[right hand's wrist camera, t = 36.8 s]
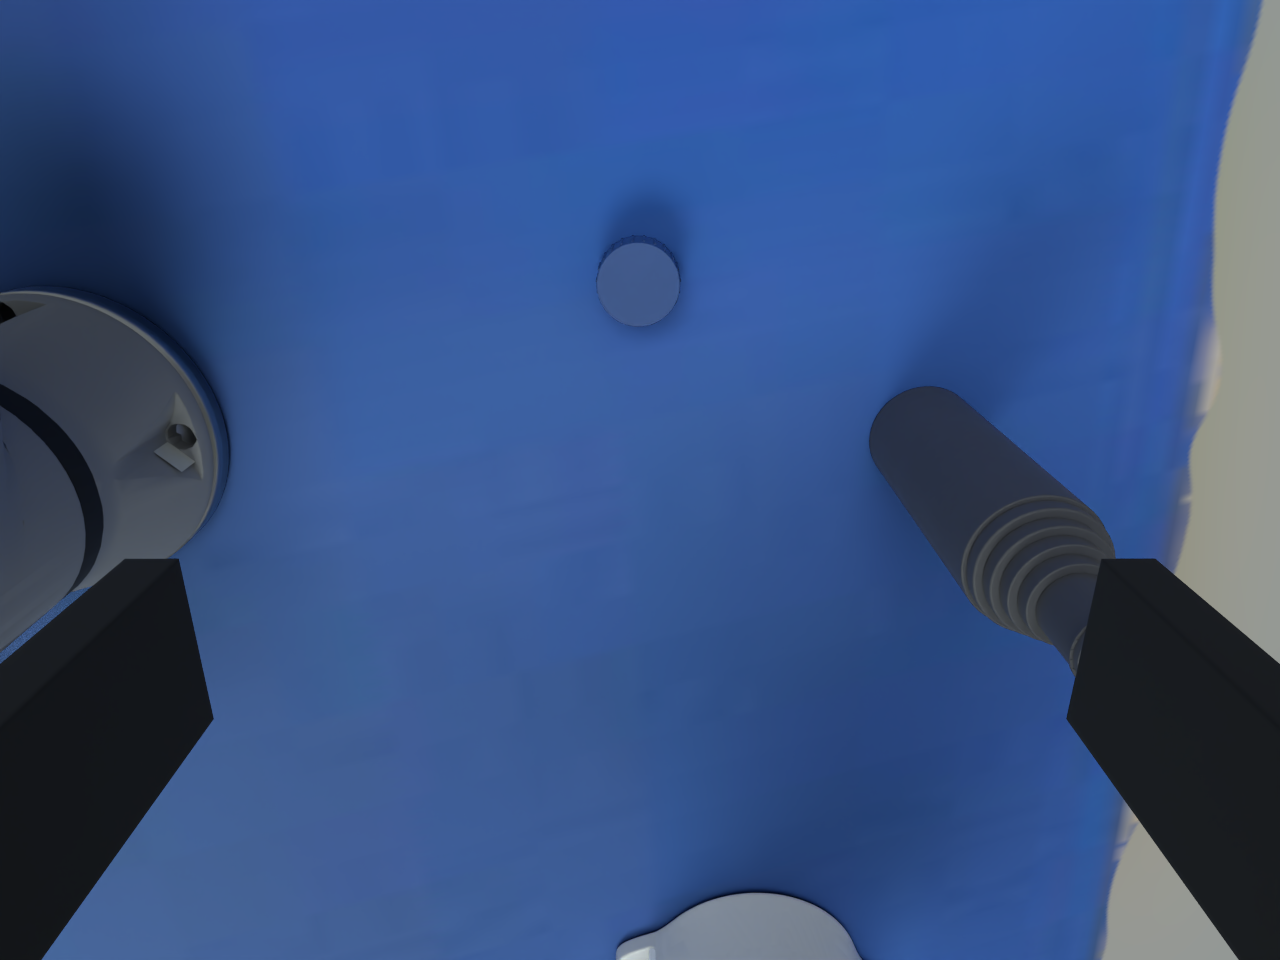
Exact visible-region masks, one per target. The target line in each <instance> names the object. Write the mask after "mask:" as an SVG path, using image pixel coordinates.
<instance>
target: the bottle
mask: <svg viewBox="0 0 1280 960" xmlns="http://www.w3.org/2000/svg"><path fill="white" fill-rule="evenodd" d="M869 443H870V452H871V455H872V458H873V460H874V462H875V464H876V466H877V467H878V469H879V470H880V472H881V473H882V475H883V476H884V477H885V479H886V480H887V482H888V483H889V485H890V486H891V488H892V489H893V491H894V492H895V493H896V495H897V496H898V498H899V499H900V501H901V502H902V504H903V505H904V506H905V508H906V509H907V511H908V512H909V514H910V515H911V517H912V518H913V520H914V521H915V522H916V524H917V525H918V527H919V528H920V530H921V531H922V533H923V534H924V535H925V537H926V538H927V540H928V541H929V543H930V544H931V546H932V547H933V549H934V550H935V551H936V553H937V554H938V556H939V557H940V559H941V560H942V562H943V563H944V564H945V566H946V567H947V569H948V570H949V572H950V573H951V575H952V576H953V578H954V579H955V580H956V582H957V583H958V585H959V586H960V588H961V589H962V591H963V592H964V593H965V595H966V596H967V598H968V599H969V601H970V602H971V603H972V605H973V606H974V607H975V608H976V609H977V610H978V611H979V612H981V613H982V614H984V615H985V616H987V617H988V618H989V619H990V620H992V621H993V622H994V623H996V624H998V625H1000V626H1002V627H1004V628H1006V629H1009V630H1012V631H1015V632H1018V633H1020V634H1023V635H1027V636H1029V637H1031V638H1034V639H1037V640H1041V641H1043V642H1045V643H1048V644H1051V645H1054V646H1055V647H1056V648H1057V650H1058V651H1059V652H1060V653H1061V655H1062V656H1063V657H1064V658H1065V660H1066V661H1067V662H1068V664H1069V666H1070V669H1071V671H1072V672H1073V674H1074V676H1075V677H1076V673H1077V668H1078V663H1079V659H1080V654H1081V650H1082V645H1083V640H1084V636H1085V631H1086V627H1087V622H1088V618H1089V613H1090V608H1091V604H1092V599H1093V595H1094V590H1095V586H1096V581H1097V576H1098V572H1099V567H1100V563H1101V559H1115V550H1114V546H1113V543H1112V540H1111V538H1110V536H1109V534H1108V533H1107V531H1106V530H1105V527H1104V525H1103V523H1102V522H1101V520H1100V519H1099V517H1098V516H1097V515H1096V514H1095V513H1094V512H1093V511H1092V510H1091V509H1090V508H1089V507H1087V506H1086V505H1085V504H1084V503H1083V502H1082V501H1080V500H1079V499H1078V498H1077V497H1076V496H1075V495H1073V494H1072V493H1071V492H1070V491H1069V490H1068V489H1066V488H1065V487H1064V486H1063V485H1062V484H1061V483H1059V482H1058V481H1057V480H1056V479H1055V478H1054V477H1052V476H1051V475H1050V474H1049V473H1048V472H1047V471H1045V470H1044V469H1043V468H1042V467H1041V466H1040V465H1038V464H1037V463H1036V462H1035V461H1034V460H1033V459H1031V458H1030V457H1029V456H1028V455H1027V454H1026V453H1024V452H1023V451H1022V450H1021V449H1020V448H1019V447H1017V446H1016V445H1015V444H1014V443H1013V442H1012V441H1010V440H1009V439H1008V438H1007V437H1006V436H1005V435H1003V434H1002V433H1001V432H1000V431H999V430H998V429H996V428H995V427H994V426H993V425H992V424H991V423H989V422H988V421H987V420H986V419H985V418H984V417H982V416H981V415H980V414H979V413H978V412H977V411H975V410H974V409H973V408H972V407H971V406H970V405H968V404H967V403H966V402H965V401H964V400H963V399H961V398H960V397H959V396H958V395H956V394H955V393H953V392H951V391H949V390H946V389H943V388H939V387H918V388H914V389H910V390H908V391H905V392H903V393H901V394H899V395H897V396H896V397H894V398H893V399H891V400H890V401H889V402H888V403H887V404H886V405H885V406H884V407H883V408H882V409H881V411H880V412H879V413H878V415H877V417H876V419H875V420H874V423H873V425H872V428H871V432H870V440H869Z"/></svg>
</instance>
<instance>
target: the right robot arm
mask: <svg viewBox="0 0 1280 960" xmlns="http://www.w3.org/2000/svg"><path fill="white" fill-rule="evenodd" d="M228 466H229V446H228V438H227V432H226V428H225V424H224V419H223V416H222V414H221V411H220V408H219V405H218V403H217V401H216V398H215V396H214V394H213V392H212V390H211V388H210V386H209V385H208V383H207V381H206V379H205V378H204V376H203V375H202V373H201V372H200V370H199V369H198V367H197V366H196V365H195V363H194V362H193V361H192V360H191V359H190V357H189V356H188V355H187V354H186V353H185V351H184V350H183V349H182V348H181V347H180V346H179V345H178V344H177V343H176V342H175V341H174V340H173V339H172V338H170V337H169V336H168V335H167V334H166V333H165V332H164V331H162V330H161V329H160V328H159V327H157V326H156V325H155V324H153V323H152V322H151V321H149V320H148V319H146V318H144V317H143V316H141V315H140V314H138V313H137V312H135V311H133V310H131V309H129V308H127V307H125V306H124V305H122V304H119V303H117V302H115V301H112V300H110V299H108V298H105V297H102V296H99V295H96V294H93V293H90V292H86V291H82V290H77V289H72V288H65V287H56V286H32V287H23V288H17V289H12V290H8V291H5V292H1V293H0V652H1V651H3V650H4V649H5V648H6V647H7V646H8V645H10V644H11V643H12V642H13V641H14V640H15V639H17V638H18V637H19V636H20V635H21V634H22V633H24V632H25V631H26V630H27V629H28V628H29V627H31V626H32V625H33V624H34V623H35V622H36V621H38V620H39V619H40V618H41V617H42V616H43V615H45V614H46V613H47V612H48V611H49V610H50V609H52V608H53V607H54V606H55V605H56V604H57V603H58V602H59V601H60V600H62V599H63V598H64V597H65V596H67V595H68V594H69V593H70V592H73V591H76V590H80V589H83V588H86V587H90V586H92V587H91V588H90V589H88V590H87V591H86V592H85V593H84V594H83V595H81V596H80V597H79V598H78V599H77V600H75V601H74V602H73V603H72V604H71V605H70V606H68V607H67V608H66V609H65V610H64V611H62V612H61V613H60V614H59V615H58V616H57V617H55V618H54V619H53V620H52V621H51V622H49V623H48V624H47V625H46V626H45V627H44V628H42V629H41V630H40V631H39V632H38V633H36V634H35V635H34V636H33V637H32V638H31V639H29V640H28V641H27V642H26V643H25V644H23V645H22V646H21V647H20V648H19V649H18V650H16V651H15V652H14V653H13V654H12V655H10V656H9V657H8V658H7V659H6V660H5V661H3V662H2V663H1V664H0V960H41V959H42V958H43V957H44V955H45V954H46V952H47V951H48V950H49V948H50V947H51V945H52V944H53V943H54V941H55V940H56V938H57V937H58V936H59V934H60V933H61V931H62V930H63V929H64V927H65V926H66V925H67V923H68V922H69V920H70V919H71V918H72V916H73V915H74V913H75V912H76V911H77V909H78V908H79V906H80V905H81V904H82V902H83V901H84V899H85V898H86V897H87V895H88V894H89V892H90V891H91V890H92V888H93V887H94V885H95V884H96V883H97V881H98V880H99V878H100V877H101V876H102V874H103V873H104V871H105V870H106V869H107V867H108V866H109V864H110V863H111V862H112V860H113V859H114V857H115V856H116V855H117V853H118V852H119V850H120V849H121V848H122V846H123V845H124V843H125V842H126V841H127V839H128V838H129V836H130V835H131V834H132V832H133V831H134V829H135V828H136V827H137V825H138V824H139V822H140V821H141V820H142V818H143V817H144V815H145V814H146V813H147V811H148V810H149V808H150V807H151V806H152V804H153V803H154V802H155V800H156V799H157V797H158V796H159V795H160V793H161V792H162V790H163V789H164V788H165V786H166V785H167V783H168V782H169V781H170V779H171V778H172V776H173V775H174V774H175V772H176V771H177V769H178V768H179V767H180V765H181V764H182V762H183V761H184V760H185V758H186V757H187V755H188V754H189V753H190V751H191V750H192V748H193V747H194V746H195V744H196V743H197V741H198V740H199V739H200V737H201V736H202V734H203V733H204V732H205V730H206V729H207V727H208V726H209V725H210V723H211V722H212V720H213V719H214V718H213V714H212V709H211V705H210V700H209V695H208V691H207V686H206V682H205V677H204V673H203V668H202V663H201V659H200V654H199V650H198V645H197V640H196V636H195V631H194V627H193V622H192V618H191V613H190V608H189V604H188V599H187V595H186V590H185V586H184V581H183V576H182V572H181V567H180V563H179V559H167V558H168V557H170V556H172V555H173V554H174V553H175V552H177V551H178V550H179V549H180V548H182V547H183V546H184V545H185V544H186V543H187V542H188V541H189V540H190V539H191V538H192V537H193V536H195V535H196V534H197V533H198V532H199V531H200V530H201V529H202V528H203V527H204V525H205V524H206V523H207V522H208V520H209V519H210V518H211V516H212V515H213V513H214V511H215V510H216V508H217V506H218V504H219V502H220V499H221V497H222V494H223V491H224V488H225V485H226V480H227V475H228ZM1066 719H1067V720H1068V722H1069V723H1070V725H1071V726H1072V727H1073V729H1074V730H1075V732H1076V733H1077V734H1078V736H1079V737H1080V739H1081V740H1082V741H1083V743H1084V744H1085V746H1086V747H1087V748H1088V750H1089V751H1090V753H1091V754H1092V755H1093V757H1094V758H1095V760H1096V761H1097V762H1098V764H1099V765H1100V767H1101V768H1102V769H1103V771H1104V772H1105V774H1106V775H1107V776H1108V778H1109V779H1110V781H1111V782H1112V783H1113V785H1114V786H1115V788H1116V789H1117V790H1118V792H1119V793H1120V795H1121V796H1122V797H1123V799H1124V800H1125V802H1126V803H1127V804H1128V806H1129V807H1130V808H1131V810H1132V811H1133V813H1134V814H1135V815H1136V817H1137V818H1138V820H1139V821H1140V822H1141V824H1142V825H1143V827H1144V828H1145V829H1146V831H1147V832H1148V834H1149V835H1150V836H1151V838H1152V839H1153V841H1154V842H1155V843H1156V845H1157V846H1158V848H1159V849H1160V850H1161V852H1162V853H1163V855H1164V856H1165V857H1166V859H1167V860H1168V862H1169V863H1170V864H1171V866H1172V867H1173V869H1174V870H1175V871H1176V873H1177V874H1178V876H1179V877H1180V878H1181V880H1182V881H1183V883H1184V884H1185V885H1186V887H1187V888H1188V890H1189V891H1190V892H1191V894H1192V895H1193V897H1194V898H1195V899H1196V901H1197V902H1198V904H1199V905H1200V906H1201V908H1202V909H1203V911H1204V912H1205V913H1206V915H1207V916H1208V918H1209V919H1210V920H1211V922H1212V923H1213V925H1214V926H1215V927H1216V929H1217V930H1218V931H1219V933H1220V934H1221V936H1222V937H1223V938H1224V940H1225V941H1226V943H1227V944H1228V945H1229V947H1230V948H1231V950H1232V951H1233V952H1234V954H1235V955H1236V956H1237V958H1238V959H1239V960H1280V664H1279V663H1278V662H1277V661H1275V660H1274V659H1273V658H1272V657H1271V656H1270V655H1268V654H1267V653H1266V652H1265V651H1264V650H1262V649H1261V648H1260V647H1259V646H1258V645H1257V644H1255V643H1254V642H1253V641H1252V640H1251V639H1249V638H1248V637H1247V636H1246V635H1245V634H1244V633H1242V632H1241V631H1240V630H1239V629H1238V628H1236V627H1235V626H1234V625H1233V624H1232V623H1231V622H1229V621H1228V620H1227V619H1226V618H1225V617H1223V616H1222V615H1221V614H1220V613H1219V612H1218V611H1216V610H1215V609H1214V608H1213V607H1212V606H1210V605H1209V604H1208V603H1207V602H1206V601H1205V600H1203V599H1202V598H1201V597H1200V596H1199V595H1197V594H1196V593H1195V592H1194V591H1193V590H1192V589H1190V588H1189V587H1188V586H1187V585H1186V584H1184V583H1183V582H1182V581H1181V580H1180V579H1179V578H1177V577H1176V576H1175V575H1174V574H1173V573H1171V572H1170V571H1169V570H1168V569H1167V568H1166V567H1164V566H1163V565H1162V564H1161V563H1160V562H1158V561H1157V560H1156V559H1101V563H1100V567H1099V572H1098V576H1097V581H1096V586H1095V590H1094V595H1093V599H1092V604H1091V608H1090V613H1089V618H1088V622H1087V627H1086V631H1085V636H1084V640H1083V645H1082V650H1081V654H1080V659H1079V663H1078V668H1077V673H1076V677H1075V682H1074V686H1073V691H1072V695H1071V700H1070V705H1069V709H1068V714H1067V718H1066Z"/></svg>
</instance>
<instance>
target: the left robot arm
mask: <svg viewBox="0 0 1280 960" xmlns="http://www.w3.org/2000/svg"><path fill="white" fill-rule="evenodd" d="M616 960H862V959H861V957H860V956H859V954H858V953H857V951H856V948H855V946H854V944H853V942H852V939H851V938H850V936H849V934H848V933H847V931H846V930H845V929H844V928H843V926H842V925H841V924H840V923H839V922H838V921H837V920H836V919H835V918H833V917H832V916H831V915H830V914H828V913H827V912H825V911H824V910H822V909H820V908H819V907H817V906H815V905H813V904H810V903H808V902H806V901H803V900H800V899H797V898H793V897H789V896H785V895H779V894H771V893H743V894H735V895H729V896H724V897H720V898H716V899H713V900H710V901H707V902H704V903H702V904H700V905H697V906H695V907H693V908H691V909H689V910H688V911H686V912H684V913H683V914H681V915H680V916H678V917H677V918H676V919H674V920H673V921H672V922H670V923H669V924H668V925H666V926H665V927H663V928H662V929H660V930H658V931H656V932H653V933H650V934H646V935H643V936H640V937H637V938H634V939H631V940H629V941H626V942H624V943H623V944H621V945H620V946H619V947H618V949H617V951H616Z"/></svg>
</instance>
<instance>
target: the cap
mask: <svg viewBox="0 0 1280 960" xmlns="http://www.w3.org/2000/svg"><path fill="white" fill-rule="evenodd" d="M598 270H599V272H598V274H597V278H596V282H597V293H598V297H599V300H600V302H601V304H602V306H603V308H604V309H605V310H606V312H607V313H608V314H609V315H610V316H611V317H613V318H614V319H615V320H617V321H619V322H620V323H623V324H625V325H629V326H635V327H641V326H648V325H651V324H654V323H656V322H658V321H660V320H661V319H663V318H664V317H665V316H666V315H668V314H669V312H670V311H671V310H672V309H673V307H674V305H675V304H676V301H677V299H678V296H679V293H680V282H681V279H680V275H679V273H678V270H679V268H678V265H677V262H675V260H674V258H673V254H672V252H671V253H670V251H669V250H668V249H667V248H666V247H665V244H662V243H660V242H659V241H657V240H656V239H655V238H654V239H653V238H649V237H645V235H643V236H634V235H632V236H631V237H627V238H624V239H623V238H621V240H620V241H618V242H617V243H615V244H612V246H611V248H610V249H609V250H608V251H607V252H605V253H604V257H603V259H602V262H600V264H599V267H598Z"/></svg>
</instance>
